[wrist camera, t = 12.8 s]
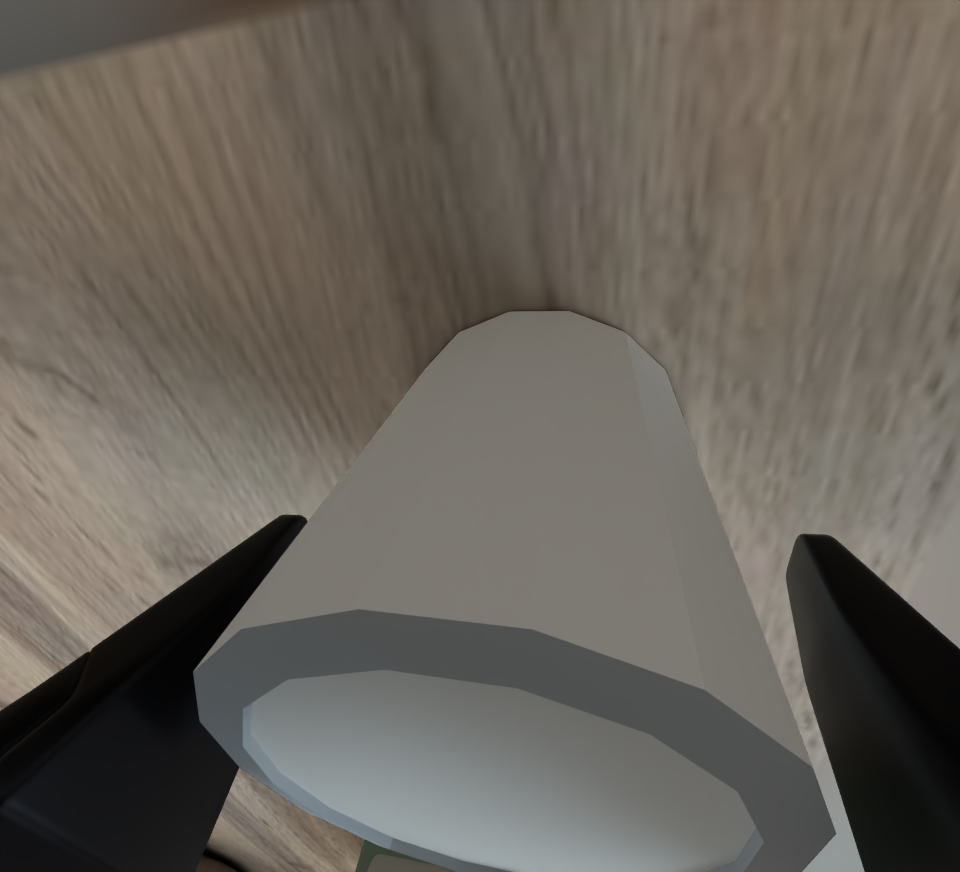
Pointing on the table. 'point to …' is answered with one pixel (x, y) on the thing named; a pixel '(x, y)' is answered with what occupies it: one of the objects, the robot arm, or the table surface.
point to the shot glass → (523, 632)
